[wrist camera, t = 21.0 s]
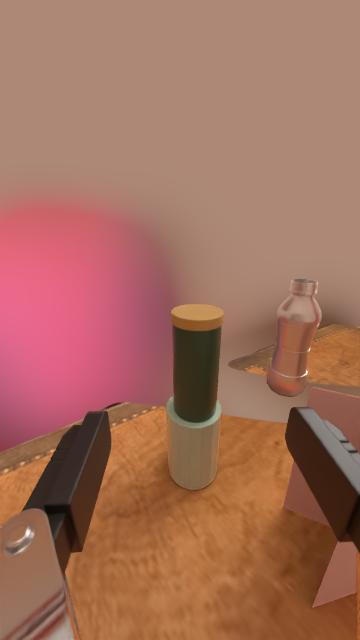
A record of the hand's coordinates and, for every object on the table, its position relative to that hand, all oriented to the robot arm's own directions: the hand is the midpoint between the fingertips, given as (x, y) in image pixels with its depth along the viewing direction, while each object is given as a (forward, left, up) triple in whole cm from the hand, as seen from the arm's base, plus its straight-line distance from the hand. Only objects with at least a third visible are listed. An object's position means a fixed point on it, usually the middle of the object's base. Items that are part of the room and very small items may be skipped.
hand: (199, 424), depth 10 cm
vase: (+1, +12, -19) cm, 22 cm away
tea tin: (+1, +12, -10) cm, 16 cm away
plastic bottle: (+19, +26, -19) cm, 38 cm away
